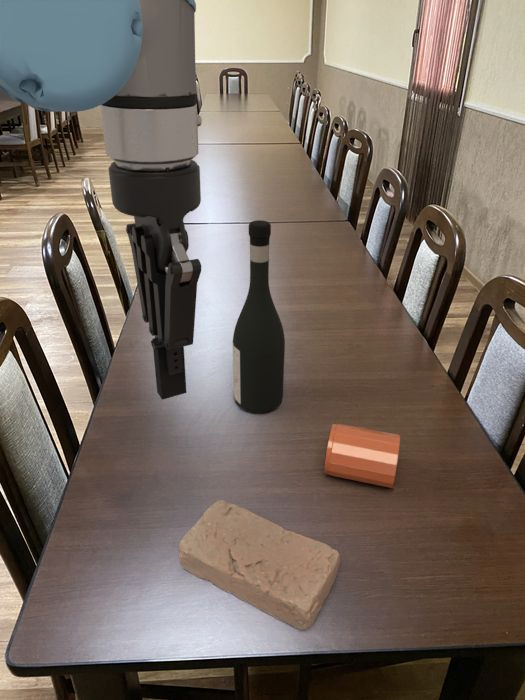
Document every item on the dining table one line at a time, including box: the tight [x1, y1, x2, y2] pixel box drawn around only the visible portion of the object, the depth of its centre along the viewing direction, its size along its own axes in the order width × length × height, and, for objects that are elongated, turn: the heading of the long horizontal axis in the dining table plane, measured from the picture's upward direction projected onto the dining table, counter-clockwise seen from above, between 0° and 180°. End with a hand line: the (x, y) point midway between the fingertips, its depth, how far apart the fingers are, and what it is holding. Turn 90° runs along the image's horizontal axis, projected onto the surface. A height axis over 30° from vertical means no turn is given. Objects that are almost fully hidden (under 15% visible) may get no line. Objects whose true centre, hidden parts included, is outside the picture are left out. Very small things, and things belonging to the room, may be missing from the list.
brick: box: [178, 499, 341, 631], centre depth 59 cm, size 17×8×5 cm, turn 60°
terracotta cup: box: [323, 422, 401, 489], centre depth 72 cm, size 7×7×9 cm
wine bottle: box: [232, 219, 286, 414], centre depth 81 cm, size 8×8×30 cm
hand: (171, 392), depth 57 cm, fingers closed
